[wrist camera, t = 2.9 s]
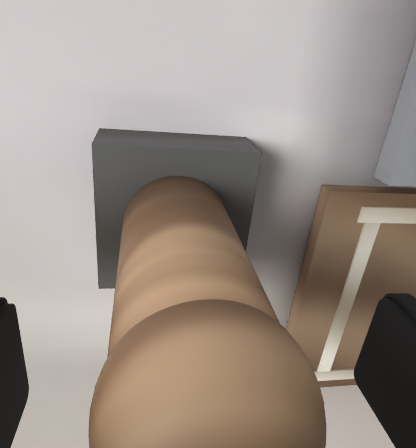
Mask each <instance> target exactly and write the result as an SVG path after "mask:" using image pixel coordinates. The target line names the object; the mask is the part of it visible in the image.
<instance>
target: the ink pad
mask: <svg viewBox="0 0 416 448" xmlns="http://www.w3.org/2000/svg"><path fill="white" fill-rule="evenodd" d="M373 177H374V178H376V179H378V180H379V181H381V182H383V183H384V184H386V185H388V186H404V187H416V42H415V45H414V48H413V51H412V54H411V58H410V61H409V64H408V67H407V70H406V74H405V77H404V80H403V83H402V87H401V90H400V93H399V96H398V99H397V103H396V106H395V109H394V112H393V115H392V119H391V122H390V125H389V128H388V131H387V135H386V138H385V141H384V144H383V147H382V151H381V154H380V157H379V160H378V163H377V167H376V170H375V173H374V176H373Z"/></svg>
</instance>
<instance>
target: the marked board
mask: <svg viewBox="0 0 416 448" xmlns="http://www.w3.org/2000/svg"><path fill="white" fill-rule="evenodd" d="M389 293H408V294H411V295H412V296H414V297H415V298H416V188H391V187H364V186H337V185H322V188H321V192H320V196H319V200H318V204H317V208H316V212H315V216H314V220H313V224H312V228H311V232H310V236H309V240H308V244H307V248H306V252H305V256H304V260H303V264H302V268H301V272H300V276H299V280H298V284H297V288H296V292H295V296H294V300H293V304H292V308H291V312H290V316H289V320H288V324H287V328H286V330H287V331H288V332H289V334H290V335H291V336H292V337H293V338H294V339H295V341H296V342H297V343H298V344H299V345H300V347H301V349H302V350H303V352H304V354H305V355H306V357H307V359H308V360H309V362H310V364H311V366H312V368H313V370H314V373H315V375H316V377H317V380H318V383H319V386H320V387H332V386H345V385H357V384H356V382H355V379H354V368H355V365H356V362H357V360H358V357H359V354H360V351H361V349H362V346H363V343H364V340H365V337H366V335H367V332H368V329H369V326H370V323H371V321H372V318H373V315H374V312H375V310H376V307H377V304H378V302H379V300H381V299H383V297H384V296H385V295H386V294H389Z"/></svg>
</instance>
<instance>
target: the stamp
mask: <svg viewBox="0 0 416 448" xmlns="http://www.w3.org/2000/svg"><path fill="white" fill-rule="evenodd" d="M261 155H262V153H261V152H260V151H259V150H258V149H257V148H256V147H255V146H254V145H253V144H252V143H251V142H250V141H249V140H248V139H247V138H246V137H234V136H217V135H201V134H184V133H168V132H151V131H134V130H118V129H101V128H99V130H98V132H97V134H96V136H95V139H94V141H93V143H92V159H93V180H94V201H95V222H96V243H97V264H98V285H99V289H103V288H115V296H114V305H113V313H112V322H111V331H110V340H109V348H108V357H107V360H106V362H105V364H104V366H103V368H102V371H101V373H100V375H99V378H98V381H97V383H96V386H95V390H94V394H93V399H92V403H91V408H90V417H89V446H90V448H325V446H326V418H325V410H324V401H323V397H322V394H321V390H320V386H319V383H318V380H317V377H316V375H315V373H314V370H313V368H312V366H311V364H310V362H309V360H308V359H307V357H306V355H305V354H304V352H303V350H302V349H301V347H300V345H299V344H298V343H297V342H296V341H295V339H294V338H293V337H292V336H291V335H290V334H289V332H288V331H287V330H286V329H285V328H284V327H283V326H281V325H280V323H279V321H278V319H277V316H276V314H275V312H274V310H273V308H272V306H271V304H270V302H269V300H268V298H267V295H266V293H265V291H264V289H263V287H262V285H261V283H260V281H259V279H258V277H257V274H256V272H255V270H254V268H253V266H252V264H251V262H250V260H249V258H248V256H247V253H246V246H247V240H248V234H249V228H250V222H251V216H252V210H253V204H254V198H255V192H256V185H257V179H258V173H259V167H260V161H261Z"/></svg>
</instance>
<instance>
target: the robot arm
mask: <svg viewBox="0 0 416 448" xmlns="http://www.w3.org/2000/svg"><path fill="white" fill-rule="evenodd" d="M354 379H355V382H356V384H357V385H358V387H359V389H360V390H361V392H362V394H363V395H364V397H365V399H366V400H367V402H368V403H369V405H370V407H371V408H372V410H373V412H374V413H375V415H376V416H377V418H378V420H379V421H380V423H381V425H382V426H383V428H384V430H385V431H386V433H387V434H388V436H389V438H390V439H391V441H392V443H393V444H394V446H395V448H416V298H415V297H414V296H412V295H411V294H408V293H389V294H386V295H385V296H384V297H383V299H381V300H379V302H378V304H377V307H376V310H375V312H374V315H373V318H372V321H371V323H370V326H369V329H368V332H367V335H366V337H365V340H364V343H363V346H362V349H361V351H360V354H359V357H358V360H357V362H356V365H355V368H354ZM28 392H29V384H28V378H27V372H26V366H25V360H24V354H23V348H22V342H21V336H20V330H19V324H18V318H17V312H16V307H15V305H14V304H8V302H7V300H6V298H3V297H0V448H11V445H12V442H13V439H14V436H15V433H16V431H17V428H18V425H19V422H20V419H21V416H22V413H23V411H24V408H25V405H26V402H27V398H28Z"/></svg>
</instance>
